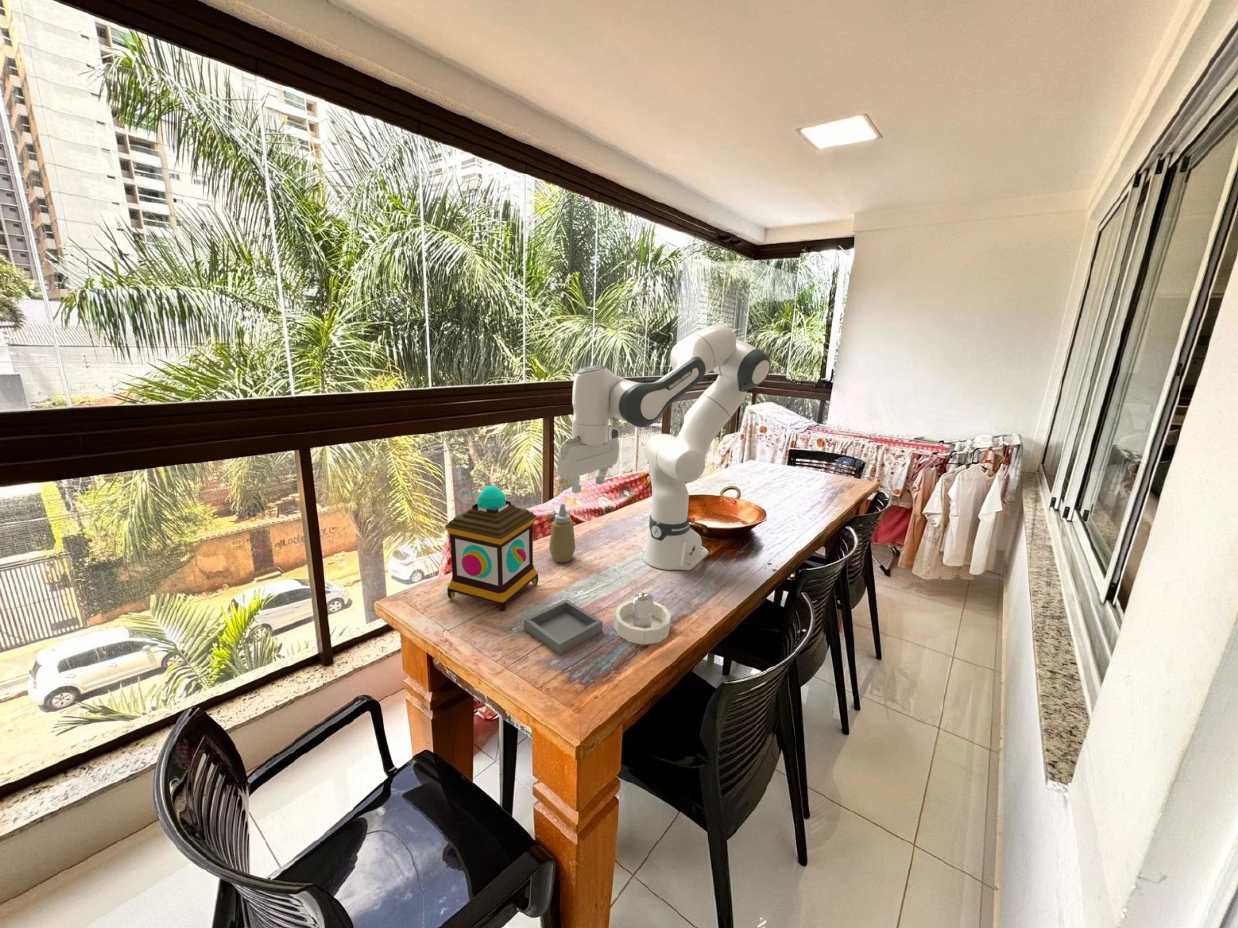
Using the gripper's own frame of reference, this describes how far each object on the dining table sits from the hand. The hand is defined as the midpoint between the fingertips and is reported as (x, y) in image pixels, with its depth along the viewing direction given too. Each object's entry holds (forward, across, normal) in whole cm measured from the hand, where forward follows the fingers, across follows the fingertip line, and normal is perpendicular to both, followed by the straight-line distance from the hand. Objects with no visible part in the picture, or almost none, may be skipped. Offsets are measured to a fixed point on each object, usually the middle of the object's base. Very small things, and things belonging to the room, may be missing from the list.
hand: (588, 487), depth 125 cm
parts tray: (+31, -16, -6) cm, 35 cm away
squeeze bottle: (+31, +13, +20) cm, 40 cm away
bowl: (+31, -3, -20) cm, 37 cm away
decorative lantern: (+31, -13, +22) cm, 40 cm away
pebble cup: (+30, -3, -20) cm, 36 cm away
